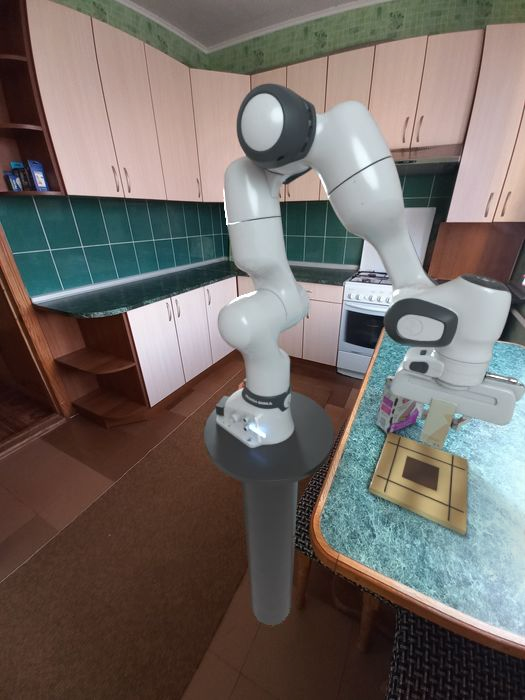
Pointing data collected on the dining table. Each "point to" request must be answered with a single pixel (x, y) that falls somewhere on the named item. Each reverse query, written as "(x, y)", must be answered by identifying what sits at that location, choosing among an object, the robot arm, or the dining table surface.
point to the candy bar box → (395, 410)
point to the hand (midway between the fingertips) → (437, 423)
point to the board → (423, 481)
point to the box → (438, 422)
